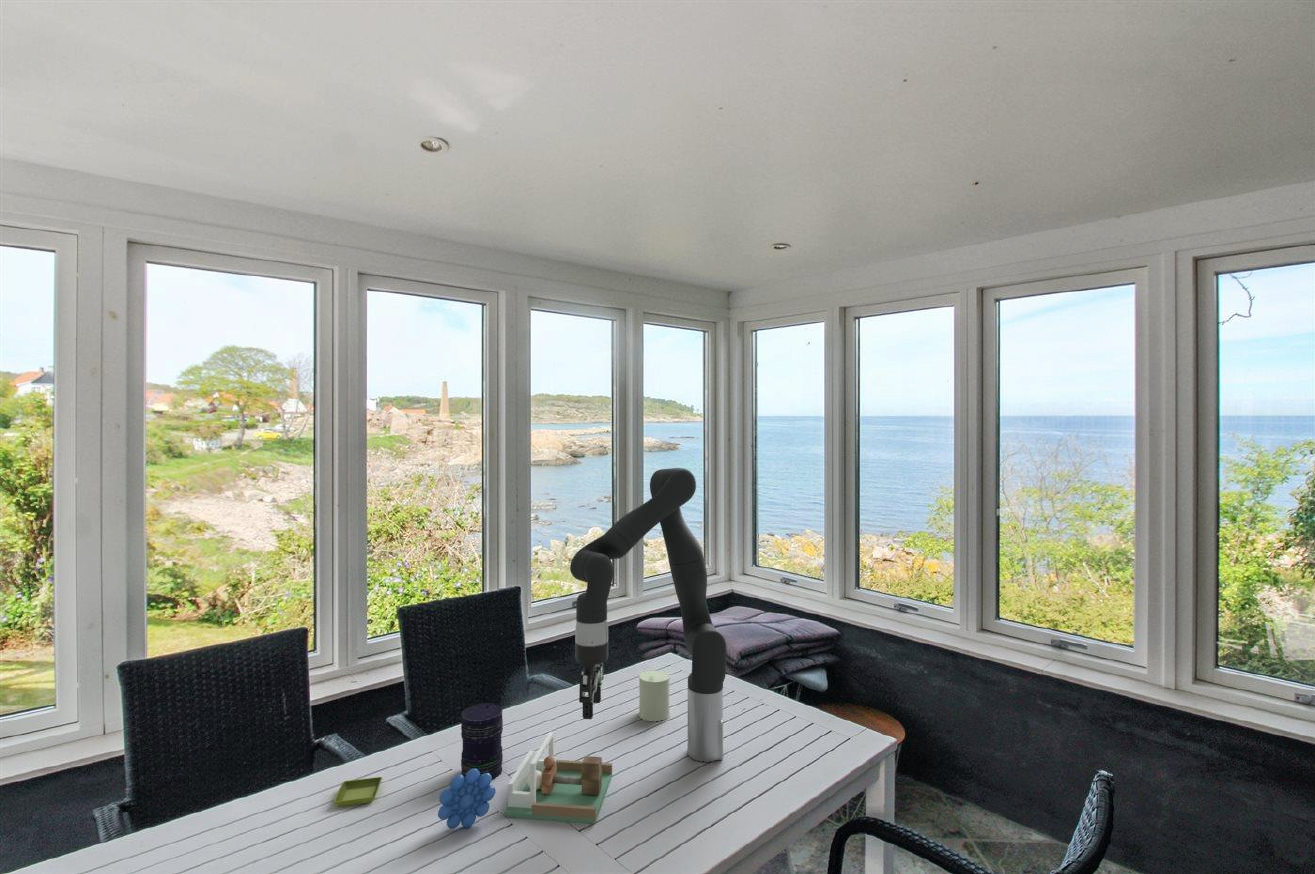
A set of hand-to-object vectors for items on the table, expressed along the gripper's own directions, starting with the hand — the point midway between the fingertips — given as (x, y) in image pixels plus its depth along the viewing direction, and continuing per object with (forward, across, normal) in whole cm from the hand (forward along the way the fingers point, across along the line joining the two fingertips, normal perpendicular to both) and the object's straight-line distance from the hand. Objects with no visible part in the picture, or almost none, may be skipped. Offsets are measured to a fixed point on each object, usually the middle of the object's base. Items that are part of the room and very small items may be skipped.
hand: (592, 710), depth 142 cm
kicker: (+18, 0, +5) cm, 19 cm away
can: (+20, +44, -9) cm, 49 cm away
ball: (+17, 0, +13) cm, 21 cm away
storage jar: (+20, +7, +29) cm, 36 cm away
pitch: (+20, 0, +7) cm, 21 cm away
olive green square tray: (+20, -6, +53) cm, 57 cm away
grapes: (+20, -13, +24) cm, 34 cm away
